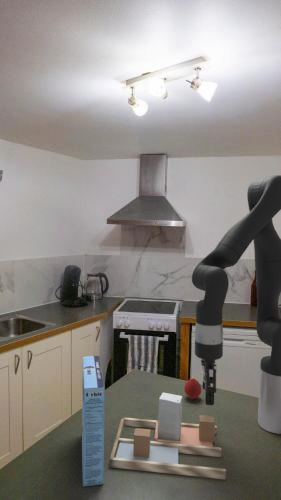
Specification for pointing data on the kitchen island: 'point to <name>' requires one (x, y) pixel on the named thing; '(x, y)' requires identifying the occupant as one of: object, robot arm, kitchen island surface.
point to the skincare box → (169, 417)
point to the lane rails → (182, 448)
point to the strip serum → (195, 433)
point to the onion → (192, 388)
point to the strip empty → (146, 449)
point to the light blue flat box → (92, 422)
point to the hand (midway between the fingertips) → (208, 396)
